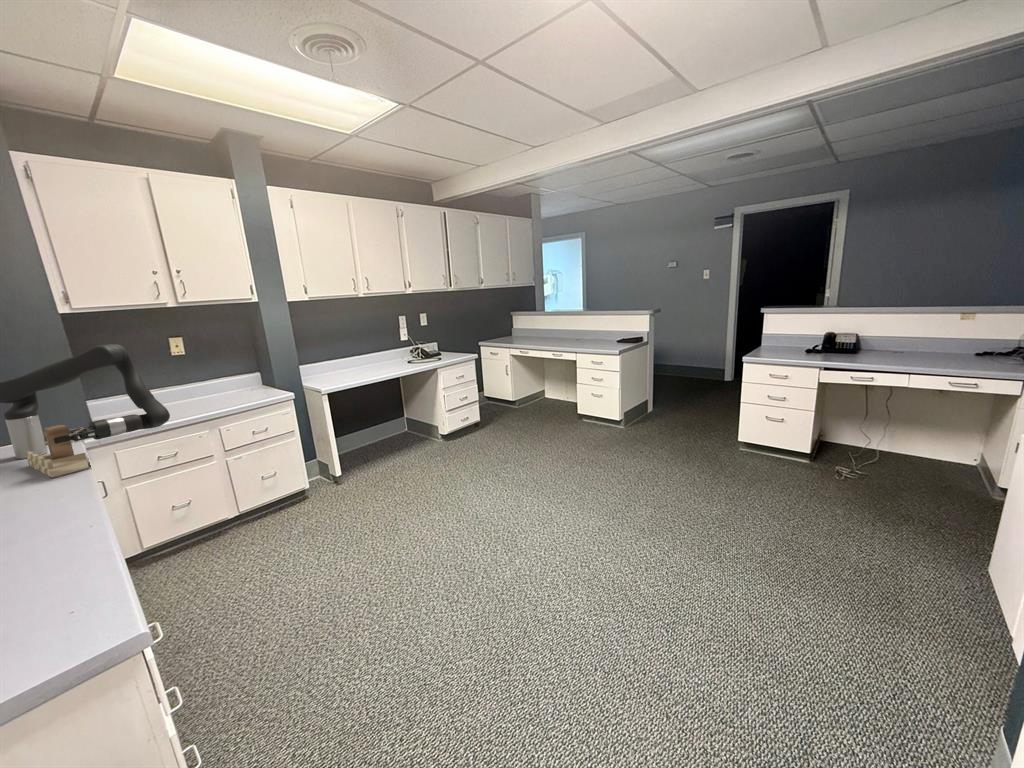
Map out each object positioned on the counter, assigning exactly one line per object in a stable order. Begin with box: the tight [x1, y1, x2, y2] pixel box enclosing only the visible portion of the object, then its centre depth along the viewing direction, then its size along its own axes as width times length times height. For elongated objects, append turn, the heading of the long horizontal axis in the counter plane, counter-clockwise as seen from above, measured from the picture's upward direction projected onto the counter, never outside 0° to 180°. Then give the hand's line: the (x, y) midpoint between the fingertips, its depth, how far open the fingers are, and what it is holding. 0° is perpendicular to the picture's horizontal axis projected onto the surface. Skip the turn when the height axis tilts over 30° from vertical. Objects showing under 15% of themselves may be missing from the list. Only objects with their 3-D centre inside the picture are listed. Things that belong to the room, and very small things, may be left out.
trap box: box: [26, 451, 90, 479], centre depth 163 cm, size 28×10×6 cm, turn 60°
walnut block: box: [43, 424, 75, 460], centre depth 157 cm, size 5×5×14 cm
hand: (50, 439), depth 155 cm, fingers open, 8 cm apart
